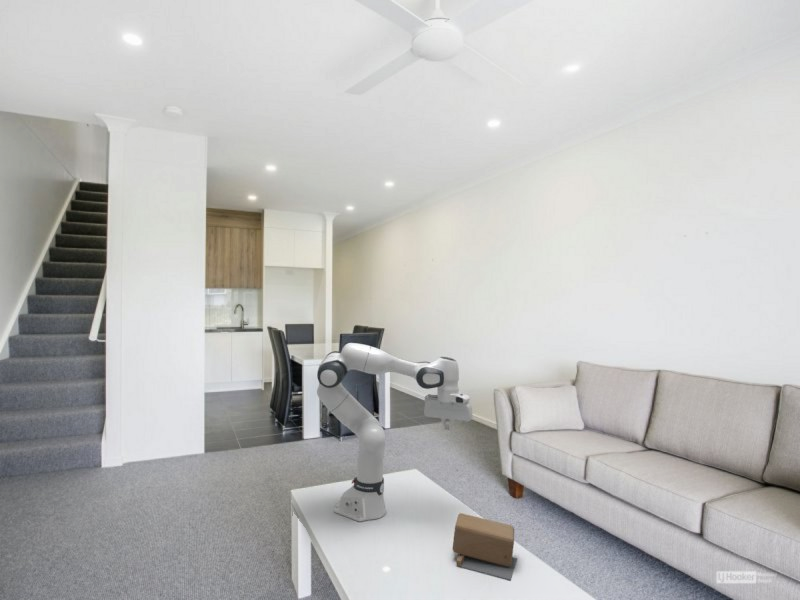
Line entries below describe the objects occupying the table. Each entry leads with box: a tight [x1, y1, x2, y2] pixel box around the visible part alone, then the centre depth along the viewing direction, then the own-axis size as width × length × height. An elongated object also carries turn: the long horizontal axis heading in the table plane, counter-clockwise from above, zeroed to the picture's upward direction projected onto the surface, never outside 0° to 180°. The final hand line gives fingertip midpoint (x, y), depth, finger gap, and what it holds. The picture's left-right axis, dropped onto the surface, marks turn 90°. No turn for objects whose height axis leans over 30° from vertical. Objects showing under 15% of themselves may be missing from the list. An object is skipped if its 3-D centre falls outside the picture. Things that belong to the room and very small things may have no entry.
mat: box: [455, 554, 518, 581], centre depth 147 cm, size 18×13×2 cm
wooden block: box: [452, 513, 515, 567], centre depth 151 cm, size 10×10×20 cm
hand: (447, 429), depth 178 cm, fingers closed
